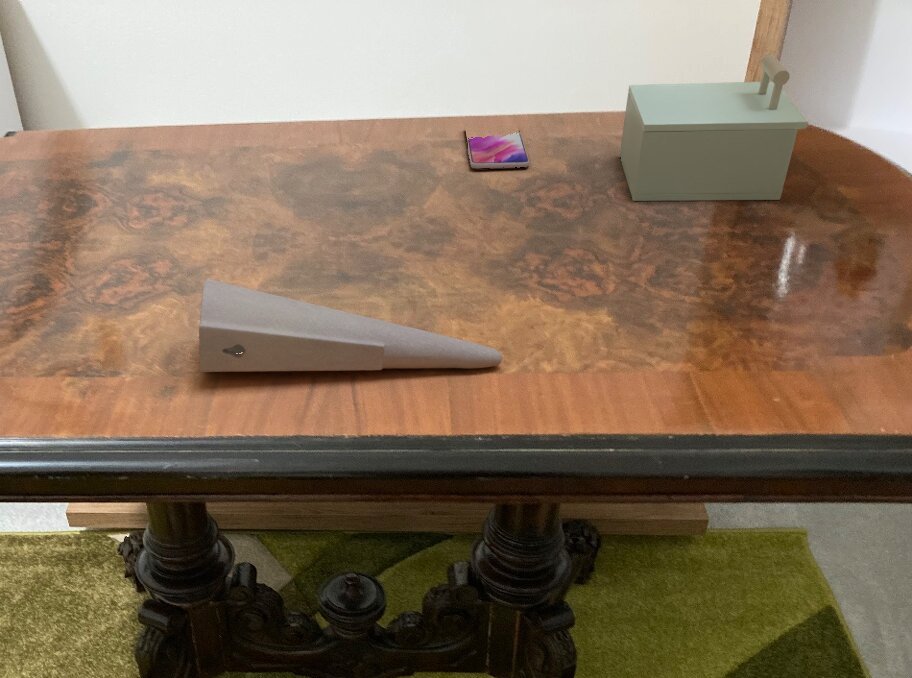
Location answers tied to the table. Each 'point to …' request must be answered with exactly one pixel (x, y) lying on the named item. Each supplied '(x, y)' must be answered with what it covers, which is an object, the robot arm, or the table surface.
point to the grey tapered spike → (316, 337)
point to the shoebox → (704, 162)
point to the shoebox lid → (719, 104)
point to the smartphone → (498, 152)
